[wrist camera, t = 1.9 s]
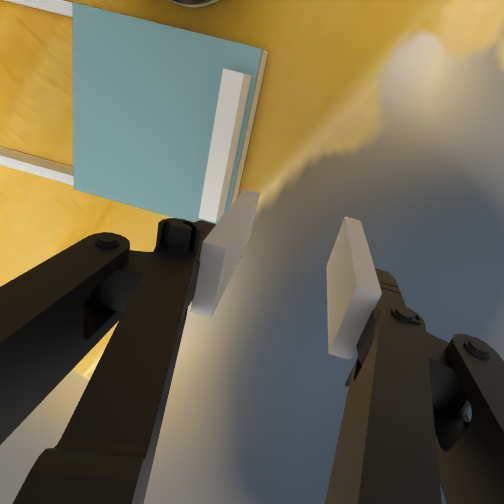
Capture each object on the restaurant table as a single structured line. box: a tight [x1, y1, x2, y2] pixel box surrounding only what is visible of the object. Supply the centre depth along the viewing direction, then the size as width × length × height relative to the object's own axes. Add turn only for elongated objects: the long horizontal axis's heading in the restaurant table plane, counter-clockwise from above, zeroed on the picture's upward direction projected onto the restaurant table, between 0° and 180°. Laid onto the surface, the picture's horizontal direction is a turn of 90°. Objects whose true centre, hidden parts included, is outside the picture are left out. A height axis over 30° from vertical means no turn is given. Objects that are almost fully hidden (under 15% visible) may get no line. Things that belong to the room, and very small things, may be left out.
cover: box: [72, 2, 263, 224], centre depth 30 cm, size 16×16×4 cm
